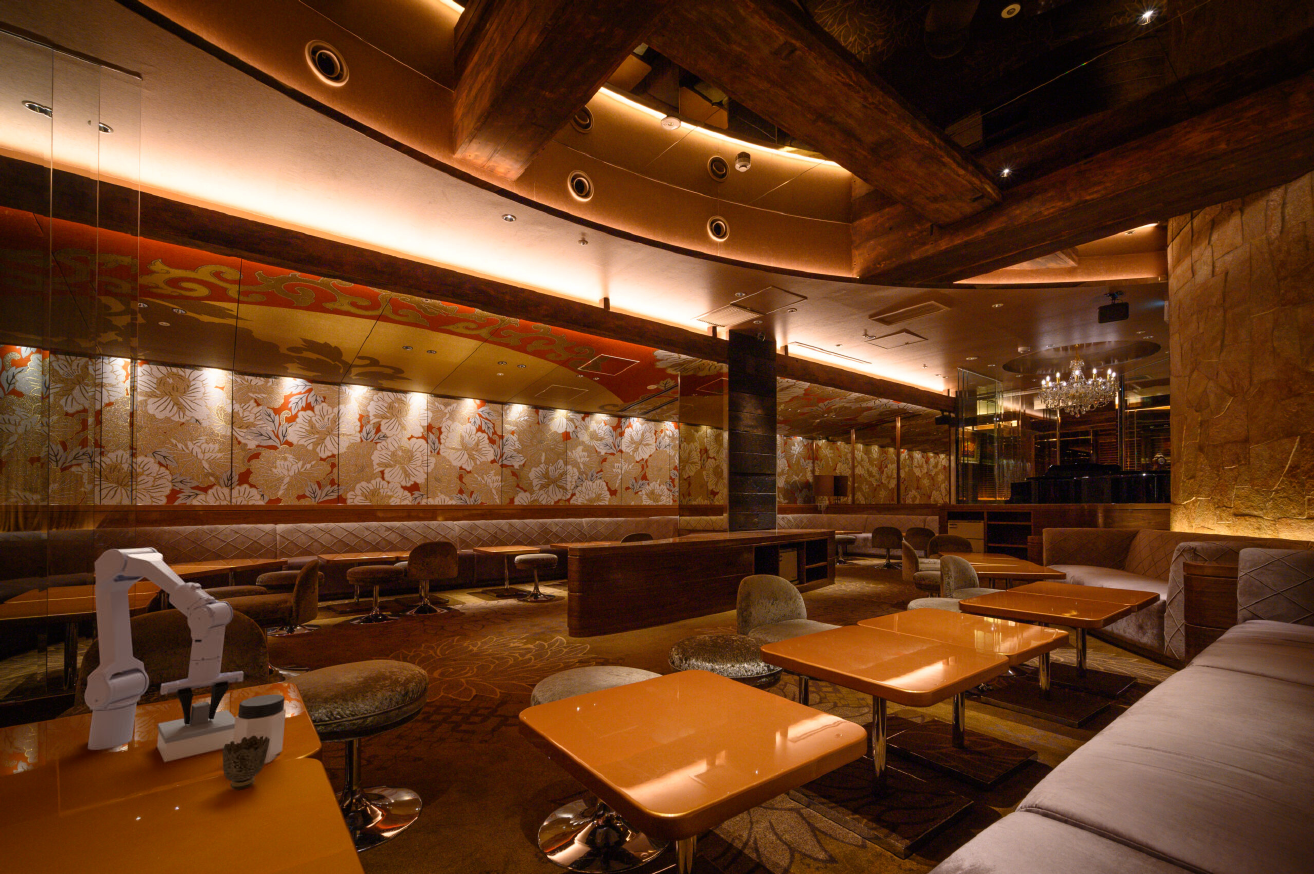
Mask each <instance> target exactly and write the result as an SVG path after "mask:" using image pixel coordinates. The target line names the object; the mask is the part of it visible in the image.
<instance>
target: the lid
mask: <svg viewBox="0 0 1314 874" xmlns="http://www.w3.org/2000/svg"><path fill="white" fill-rule="evenodd" d="M209 708H210V703H209V701H204V702H198V703H197V702H196V703H194V704H191V714H190V724H187V725H185V723H184V718H179V719H174V720H170V721H165V722H159V723H157V731H158V734H159V733H160V734H161V736H162V738H163V740H164V742H165V744H166V743H170V742H175V741H180V740H184V739H189V738H193V737H198V736H202V735H207V734H211V733H216V732H221V731H225V730H230V729H234V727H235V718H236V716H234V715H233V714H232V713H231V712H230V711H229V710H228V709H226V710H221V711H220V710H219V711H216V713H215V716H214V719H211V720H210V719H209V718H208V717H209Z"/></svg>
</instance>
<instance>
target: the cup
mask: <svg viewBox="0 0 1314 874" xmlns="http://www.w3.org/2000/svg"><path fill="white" fill-rule="evenodd" d="M269 742H270V739H269V738H268V737H265V738H264V740H263V736H261V737H260V738H259V739H258V738H257V737H256V736H255V735H254V736H252V737H250V738H249V739H247V738H246V737H243V738H242V740H241V743H236V744H235V743H234V741H231V742H230V744H225V746H224V748H222V768H223V769H222V770H223V775H224V776H225V779H226V780H228V781H230V782H231V783H230V786H231V789H232V790H237V791H238V790H239V791H240V790H244V789H247V788H250V787H251V786H252V785H253V783H255V777H256V776H257V775H258V774H260V772H261V771H262V770H263V767H264V765H265V764H266V763H265V759H266V755H267V751H268V746H269ZM264 763H265V764H264Z"/></svg>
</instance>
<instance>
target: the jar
mask: <svg viewBox="0 0 1314 874" xmlns="http://www.w3.org/2000/svg"><path fill="white" fill-rule="evenodd" d="M284 706H285V696H284V695H281V694H264V695H258V696H254V697H250V698H247V699H244V700H243V701H241V702H240V703H239V705H238V714H237V715H236V716H235V727H234V736H233V741H234V743H235V744H236V743H241V740H242V738H243V737H246V738H247V739H249V738H250V737H252V736H254V735H255V736H256V737H257V738H258V739H259V738H260V737H261V736H263V740H264V738H265V737H268V738H269V739H270V742H269V746H268V751H267V755H266V759H265V763H264V765H265V764H269V763H271V762H272V761H273V760H275V759H276V758H278V757H279V756H280V754H279V753H281V752H282V751H283V743H284V734H285V722H286V713H287V711H286V710H287V709H286V708H285V707H284Z"/></svg>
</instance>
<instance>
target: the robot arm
mask: <svg viewBox="0 0 1314 874" xmlns="http://www.w3.org/2000/svg"><path fill="white" fill-rule="evenodd" d="M94 571H95V586H94V593H95V594H94V595H95V609H96V621H97V637H98V638H97V639H98V651H99V665H98V666H97V667H96V669H94V670H93V671H92V672H91V673H90V674H89V675H88V676H87V679H86V680H87V684H86V685H87V686H86V689H85V691H84V696H83V697H84V702H85V703H86V706H88V707H89V710H90V711H92V713H91V715H92V716H91V722H90V723H91V724H90V729H89V737H88V742H87V743H88V745H87V749H88V750H91V751H93V750H94V751H96V750H105V749H106V750H107V749H110V748H111V749H112V748H115V747H116V748H117V747H119V746H122V745H126V744H128V743H130V742H131V741H132V740H133V733H134V725H135V719H136V710H137V702H138V701H140V700H141V696H142V695H144V694H145V692H146V691H147V690H148V687H149V685H150V679H149V675H148V674H147V672H146V671H145V665H144V662H143V661H141V660H139V659H138V658H135V657H134V655H133V654H134V652H133V643H132V642H133V641H132V628H131V619H130V618H131V615H130V604H129V594H128V593H129V590H130V588H131V587H133V585H134V584H136V583H137V582H139V581H140V580H142V579H143V578H146V579H147V580H149V581H150V582H152V583H153V584H154V585H156V586H157V587H159V588H160V589H161V590H163V591H165V592H166V593H167V594H169V597H168V601H169V603H170V604H172V606H174V607H175V608H176V609H177V610H178V611H179V612H181V613H182V614H183V615H185V617H187V625H188V627H189V629H190V637H191V639H192V640H191V641H192V643H191V650H190V658H189V659H190V660H189V665H188V674H187V675H188V676H187V678H183V679H179V680H178V679H177V680H175V681H174V680H173V681H170V682H164V683H161V685H160V692H159V694H160V695H161V696H162V695H167V694H171V693H176V696H177V697H178V700H179V702H180V705H181V708H182V713H183V719H184V723H185V725H187V724H190V717H191V708H192V703H193V698H194V694H193V689H198V688H204V687H211V689H210V703H209V704H210V708H209V717H208V718H209V719H210V720H211V719H214V716H215V713H216V712H217V710H218V708H219V705H220V703H221V701H222V699H223V698H224V696H225V695H226V693H227V692H228V690H229V683H234V682H237V683H238V682H243V681H244V675H245V673H244V672H245V671H244V672H243V671H242V670H241V671H232V672H222V673H221V667H222V660H223V652H224V651H223V650H224V641H225V634H226V633H225V632H226V626H227V625H228V624H229V623H231V621H232V619H233V617H234V610H233V607H232V605H230V603H229V602H228V601H225V600H221V601H219V600H218V599H216V598H215V597H214V596H211V595H210V594H208V593H207V592H206V591H205V590H204V589H202V585H201V584H200V583H197V582H185V581H184V580H183V579H182V578H181V577H180V576H179V575H178V574H177V573H176V572H175V571H174V570H173V569H172V568H171V566H169V565H168V564H167V563H166V562H165V561H164V556H163V554H162V553H160V552H158V550H157V549H156V548H154V547H152V546H151V547H150V546H146V547H140V548H138V547H137V548H120V549H119V548H118V549H117V548H111V549H107V550H105V551H104V552H103V553H102V554H101V555H100V556H99V557H98V558H97V559H96V561H95V562H94ZM117 673H119V674H117Z"/></svg>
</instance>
